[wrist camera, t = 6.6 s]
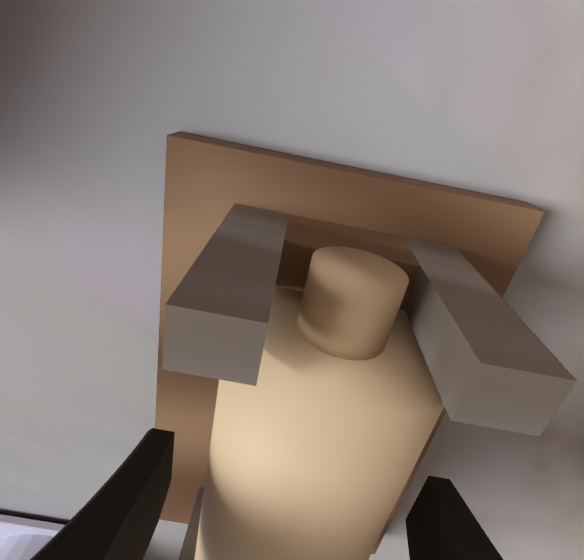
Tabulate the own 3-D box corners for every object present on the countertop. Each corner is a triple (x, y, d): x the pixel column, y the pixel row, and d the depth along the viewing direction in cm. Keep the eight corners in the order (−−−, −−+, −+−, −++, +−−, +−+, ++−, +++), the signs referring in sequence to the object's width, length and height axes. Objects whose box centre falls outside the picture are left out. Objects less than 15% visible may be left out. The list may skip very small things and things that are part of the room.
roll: (324, 534, 16) (336, 706, 12) (205, 519, 16) (169, 691, 11) (436, 243, 10) (545, 365, 6) (250, 208, 10) (214, 309, 5)
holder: (371, 531, 18) (399, 740, 12) (159, 496, 18) (85, 694, 12) (525, 202, 11) (763, 327, 5) (179, 131, 11) (18, 181, 5)
